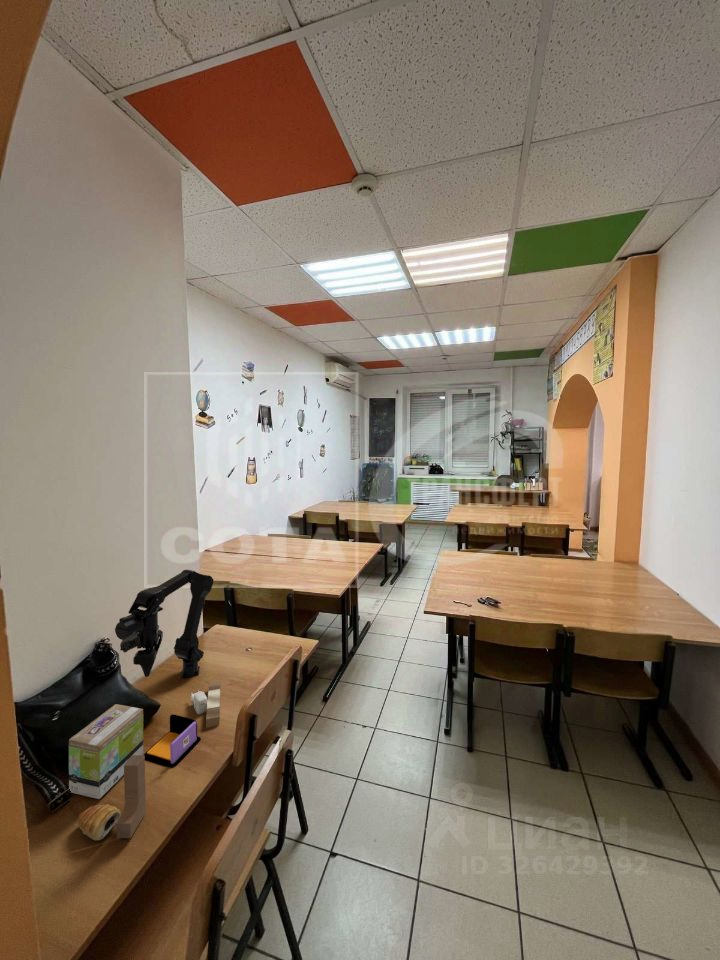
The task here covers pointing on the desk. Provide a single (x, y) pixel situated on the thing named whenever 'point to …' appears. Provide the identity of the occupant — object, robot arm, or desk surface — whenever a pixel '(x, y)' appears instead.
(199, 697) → the power adapter
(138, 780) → the wooden block
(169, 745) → the business card holder
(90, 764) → the tea box
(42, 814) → the desk surface
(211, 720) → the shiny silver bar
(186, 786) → the desk surface
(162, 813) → the desk surface
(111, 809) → the pastry
